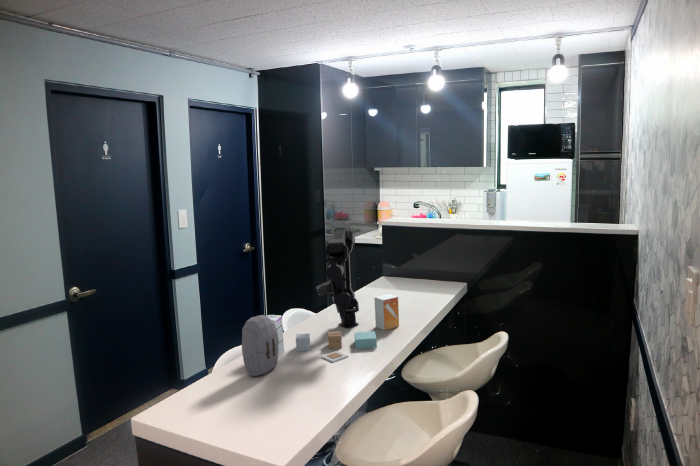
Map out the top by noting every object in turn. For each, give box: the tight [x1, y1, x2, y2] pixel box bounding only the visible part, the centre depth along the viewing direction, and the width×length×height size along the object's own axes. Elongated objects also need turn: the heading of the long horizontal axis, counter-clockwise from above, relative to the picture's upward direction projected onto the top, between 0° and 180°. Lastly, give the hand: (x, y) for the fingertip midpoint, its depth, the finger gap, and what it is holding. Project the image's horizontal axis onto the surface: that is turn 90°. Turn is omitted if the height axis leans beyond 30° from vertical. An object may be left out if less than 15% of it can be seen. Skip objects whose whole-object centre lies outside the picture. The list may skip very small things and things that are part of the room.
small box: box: [374, 293, 400, 331], centre depth 215 cm, size 8×6×13 cm
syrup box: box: [266, 314, 285, 358], centre depth 191 cm, size 6×6×14 cm
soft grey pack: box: [241, 314, 279, 377], centre depth 174 cm, size 15×8×20 cm, turn 150°
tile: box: [321, 350, 349, 363], centre depth 186 cm, size 7×7×1 cm
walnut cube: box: [327, 330, 343, 350], centre depth 197 cm, size 5×5×5 cm
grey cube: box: [295, 333, 311, 352], centre depth 196 cm, size 5×5×5 cm
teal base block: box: [354, 330, 378, 350], centre depth 196 cm, size 8×8×4 cm
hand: (340, 314), depth 195 cm, fingers open, 9 cm apart
